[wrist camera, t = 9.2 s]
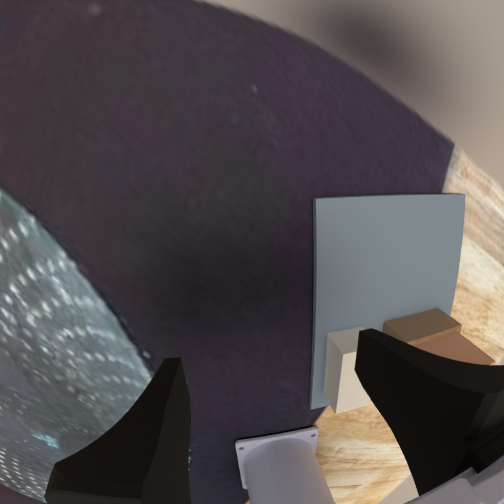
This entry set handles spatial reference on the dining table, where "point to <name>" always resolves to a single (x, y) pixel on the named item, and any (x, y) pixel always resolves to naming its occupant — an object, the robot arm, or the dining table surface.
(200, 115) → the dining table surface
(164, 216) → the dining table surface
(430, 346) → the terracotta block
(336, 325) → the board
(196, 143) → the dining table surface
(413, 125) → the dining table surface
